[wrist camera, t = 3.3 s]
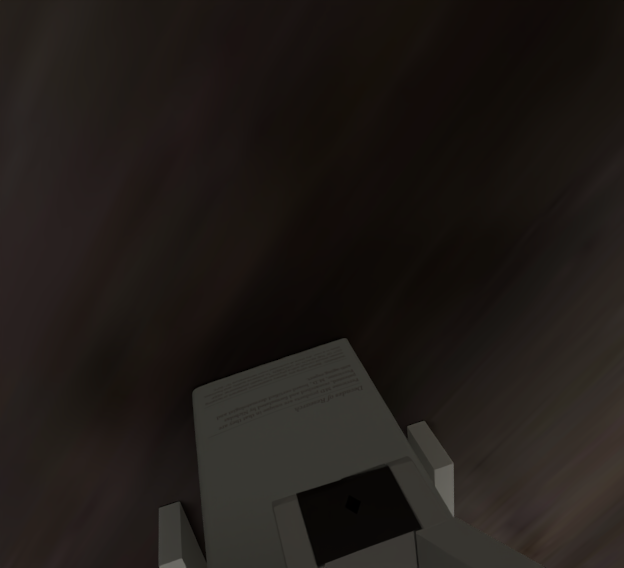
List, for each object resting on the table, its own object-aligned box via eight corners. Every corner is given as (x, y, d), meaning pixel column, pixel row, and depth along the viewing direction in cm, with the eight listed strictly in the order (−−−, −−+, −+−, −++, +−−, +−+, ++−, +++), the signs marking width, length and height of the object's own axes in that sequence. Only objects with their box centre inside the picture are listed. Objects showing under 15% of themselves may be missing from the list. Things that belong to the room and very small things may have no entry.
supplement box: (186, 386, 21) (213, 767, 10) (348, 332, 22) (532, 624, 11) (233, 495, 24) (290, 862, 14) (369, 444, 25) (524, 747, 15)
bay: (159, 507, 23) (158, 566, 21) (424, 420, 26) (453, 463, 23) (218, 634, 29) (224, 692, 27) (430, 554, 32) (454, 600, 29)
